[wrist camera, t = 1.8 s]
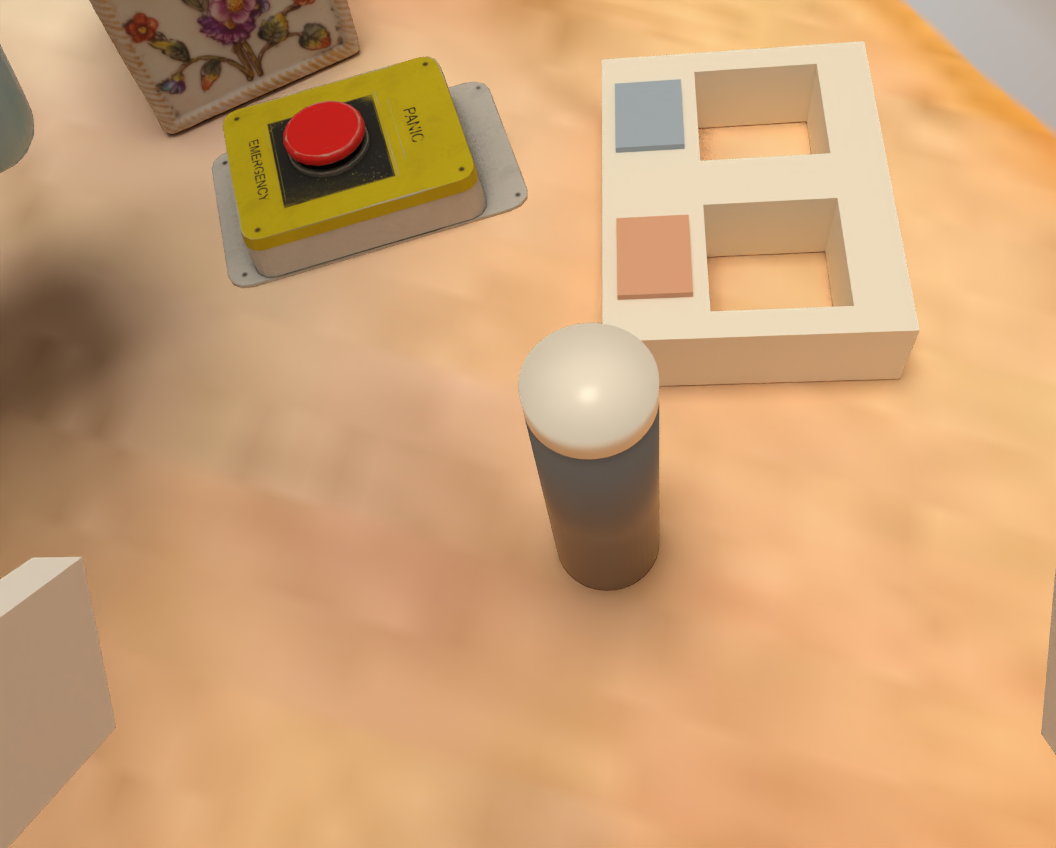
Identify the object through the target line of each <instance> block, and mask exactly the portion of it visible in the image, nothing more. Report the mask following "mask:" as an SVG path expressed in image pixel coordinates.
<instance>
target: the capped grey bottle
mask: <svg viewBox="0 0 1056 848" xmlns="http://www.w3.org/2000/svg"><path fill="white" fill-rule="evenodd" d="M519 395H520V400H521V404H522V408H523V412H524V416H525V420H526V425H527V429H528V433H529V437H530V441H531V445H532V449H533V453H534V458H535V462H536V466H537V470H538V474H539V478H540V482H541V486H542V490H543V495H544V499H545V503H546V507H547V511H548V515H549V519H550V523H551V528H552V532H553V536H554V540H555V544H556V548H557V552H558V556H559V559H560V561H561V563H562V565H563V567H564V568H565V570H566V571H567V572H568V573H569V575H570V576H571V577H573V578H574V579H575V580H576V581H578V582H579V583H581V584H583V585H585V586H587V587H590V588H593V589H598V590H617V589H622V588H625V587H628V586H630V585H632V584H634V583H636V582H637V581H639V580H640V579H641V578H642V577H644V576H645V575H646V574H647V573H648V571H649V570H650V569H651V567H652V566H653V564H654V562H655V560H656V557H657V554H658V550H659V373H658V368H657V364H656V362H655V359H654V357H653V355H652V354H651V352H650V351H649V349H648V348H647V347H646V346H645V344H644V343H643V342H642V341H640V340H639V339H638V338H637V337H636V336H634V335H633V334H631V333H629V332H627V331H626V330H624V329H621V328H618V327H616V326H612V325H608V324H602V323H581V324H576V325H571V326H568V327H564V328H562V329H559V330H557V331H555V332H553V333H551V334H550V335H548V336H546V337H545V338H544V339H542V340H541V341H540V342H539V343H538V344H537V345H536V346H535V347H534V348H533V349H532V350H531V352H530V353H529V354H528V356H527V357H526V359H525V361H524V363H523V365H522V368H521V371H520V375H519Z"/></svg>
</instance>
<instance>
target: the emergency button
mask: <svg viewBox="0 0 1056 848" xmlns="http://www.w3.org/2000/svg"><path fill="white" fill-rule="evenodd" d="M223 130H224V136H225V142H226V148H227V152H226V153H224V154H222V155H220V156H219V157H218V158H217V159H216V160H215V161H214V163H213V167H212V173H213V180H214V186H215V193H216V199H217V206H218V212H219V219H220V225H221V232H222V238H223V245H224V251H225V258H226V264H227V271H228V276H229V278H230V280H231V281H232V283H233V285H235V286H238V287H241V288H248V287H256V286H259V285H262V284H266V283H269V282H272V281H276V280H279V279H283V278H286V277H289V276H293V275H296V274H300V273H303V272H306V271H310V270H313V269H316V268H320V267H323V266H327V265H330V264H333V263H337V262H340V261H344V260H347V259H350V258H354V257H357V256H361V255H364V254H367V253H371V252H374V251H377V250H381V249H384V248H388V247H391V246H394V245H398V244H401V243H405V242H408V241H411V240H415V239H418V238H421V237H425V236H428V235H432V234H435V233H438V232H442V231H445V230H449V229H452V228H455V227H459V226H462V225H465V224H469V223H472V222H476V221H479V220H482V219H486V218H489V217H493V216H496V215H499V214H503V213H506V212H510V211H512V210H514V209H516V208H518V207H520V206H521V205H522V204H523V203H524V202H525V201H526V199H527V187H526V185H525V182H524V179H523V177H522V174H521V171H520V169H519V166H518V164H517V161H516V158H515V156H514V153H513V150H512V148H511V145H510V142H509V140H508V137H507V135H506V132H505V129H504V127H503V124H502V121H501V119H500V116H499V113H498V111H497V108H496V105H495V103H494V100H493V98H492V95H491V92H490V90H489V88H488V87H487V86H486V85H485V84H483V83H478V82H469V83H463V84H460V85H456V86H453V87H449V88H448V86H447V83H446V80H445V77H444V74H443V72H442V69H441V67H440V65H439V63H438V62H437V61H436V60H435V59H433V58H431V57H419V58H415V59H412V60H408V61H405V62H401V63H398V64H394V65H391V66H388V67H384V68H381V69H377V70H374V71H370V72H367V73H363V74H360V75H356V76H353V77H349V78H346V79H342V80H339V81H335V82H332V83H328V84H325V85H321V86H318V87H314V88H311V89H307V90H304V91H300V92H297V93H293V94H290V95H286V96H283V97H279V98H276V99H272V100H269V101H265V102H262V103H258V104H255V105H252V106H248V107H245V108H241V109H238V110H235V111H233V112H231V113H229V114H228V116H227V117H226V118H225V119H224V123H223Z"/></svg>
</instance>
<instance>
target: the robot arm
mask: <svg viewBox="0 0 1056 848" xmlns="http://www.w3.org/2000/svg"><path fill="white" fill-rule="evenodd" d="M33 136H34V119H33V114H32V111H31V108H30V106H29V103H28V101H27V99H26V96H25V94H24V92H23V90H22V88H21V86H20V84H19V82H18V80H17V78H16V75H15V73H14V71H13V69H12V67H11V65H10V63H9V61H8V59H7V57H6V55H5V53H4V51H3V49H2V47H1V45H0V173H1V172H3V171H5V170H7V169H9V168H11V167H13V166H14V165H15V164H17V163H18V161H20V160H21V159H22V158H23V157H24V155H25V154H26V153H27V151H28V149H29V146H30V144H31V141H32V139H33ZM115 728H116V724H115V719H114V714H113V709H112V704H111V699H110V694H109V689H108V684H107V679H106V674H105V668H104V663H103V658H102V653H101V648H100V643H99V638H98V633H97V628H96V623H95V618H94V613H93V607H92V602H91V597H90V592H89V587H88V582H87V577H86V572H85V567H84V562H83V557H38V558H31V559H30V560H28V561H27V562H25V563H24V564H22V565H21V566H19V567H18V568H16V569H15V570H13V571H12V572H10V573H9V574H7V575H6V576H4V577H3V578H2V579H0V848H8V847H9V846H10V845H11V844H12V843H13V841H14V840H15V839H16V838H17V837H18V836H19V835H20V834H21V833H22V831H23V830H24V829H25V828H26V827H27V826H28V825H29V824H30V823H31V821H32V820H33V819H34V818H35V817H36V816H37V815H38V814H39V813H40V811H41V810H42V809H43V808H44V807H45V806H46V805H47V804H48V803H49V801H50V800H51V799H52V798H53V797H54V796H55V795H56V794H57V793H58V791H59V790H60V789H61V788H62V787H63V786H64V785H65V784H66V783H67V781H68V780H69V779H70V778H71V777H72V776H73V775H74V774H75V773H76V771H77V770H78V769H79V768H80V767H81V766H82V765H83V764H84V763H85V761H86V760H87V759H88V758H89V757H90V756H91V755H92V754H93V753H94V751H95V750H96V749H97V748H98V747H99V746H100V745H101V744H102V743H103V741H104V740H105V739H106V738H107V737H108V736H109V735H110V734H111V733H112V731H113V730H114V729H115ZM1041 734H1042V736H1043V737H1044V739H1045V740H1046V741H1047V743H1048V744H1049V746H1050V747H1051V749H1052V750H1053V752H1054V753H1055V755H1056V570H1055V581H1054V593H1053V604H1052V616H1051V627H1050V639H1049V650H1048V662H1047V673H1046V685H1045V696H1044V708H1043V719H1042V731H1041Z"/></svg>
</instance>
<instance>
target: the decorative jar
mask: <svg viewBox="0 0 1056 848" xmlns="http://www.w3.org/2000/svg"><path fill="white" fill-rule="evenodd" d="M90 2H91V4H92V6H93V8H94V10H95V12H96V14H97V15H98V17H99V19H100V20H101V22H102V24H103V26H104V27H105V29H106V31H107V33H108V35H109V36H110V38H111V40H112V42H113V43H114V45H115V47H116V49H117V50H118V52H119V54H120V56H121V57H122V59H123V61H124V62H125V64H126V66H127V68H128V69H129V71H130V72H131V74H132V76H133V78H134V79H135V81H136V83H137V84H138V86H139V88H140V89H141V91H142V92H143V94H144V96H145V97H146V99H147V101H148V102H149V104H150V106H151V107H152V108H153V110H154V112H155V114H156V117H157V118H158V121H159V123H160V125H161V126H162V128H163V129H164V130H165V131H166V132H167V133H170V134H175V133H178V132H180V131H182V130H185V129H187V128H190V127H192V126H194V125H196V124H198V123H200V122H202V121H204V120H206V119H209V118H211V117H213V116H215V115H218V114H220V113H223V112H225V111H227V110H229V109H232V108H234V107H236V106H238V105H241V104H243V103H245V102H248V101H249V100H251V99H254V98H256V97H259V96H261V95H263V94H265V93H267V92H270V91H272V90H274V89H277V88H279V87H281V86H284V85H286V84H288V83H291V82H293V81H295V80H297V79H300V78H302V77H304V76H307V75H309V74H311V73H313V72H316V71H318V70H320V69H322V68H324V67H327V66H329V65H332V64H334V63H336V62H338V61H341V60H343V59H346V58H348V57H350V56H352V55H354V54H355V53H357V52H358V50H359V43H358V37H357V33H356V31H355V26H354V24H353V20H352V17H351V14H350V10H349V7H348V3H347V0H90Z"/></svg>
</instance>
